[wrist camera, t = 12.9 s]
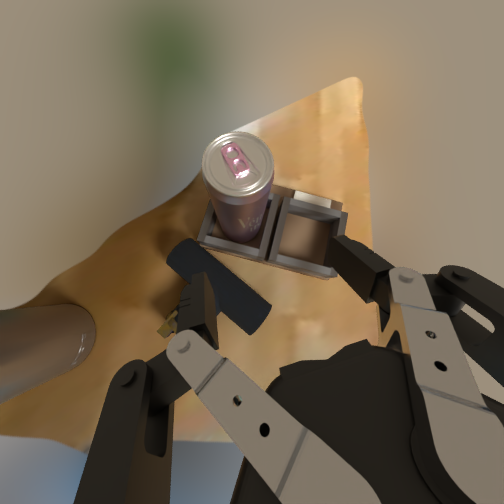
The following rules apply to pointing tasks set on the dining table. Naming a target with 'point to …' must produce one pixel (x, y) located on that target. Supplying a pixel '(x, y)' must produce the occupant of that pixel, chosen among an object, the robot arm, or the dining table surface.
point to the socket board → (285, 233)
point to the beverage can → (238, 182)
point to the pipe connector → (216, 289)
